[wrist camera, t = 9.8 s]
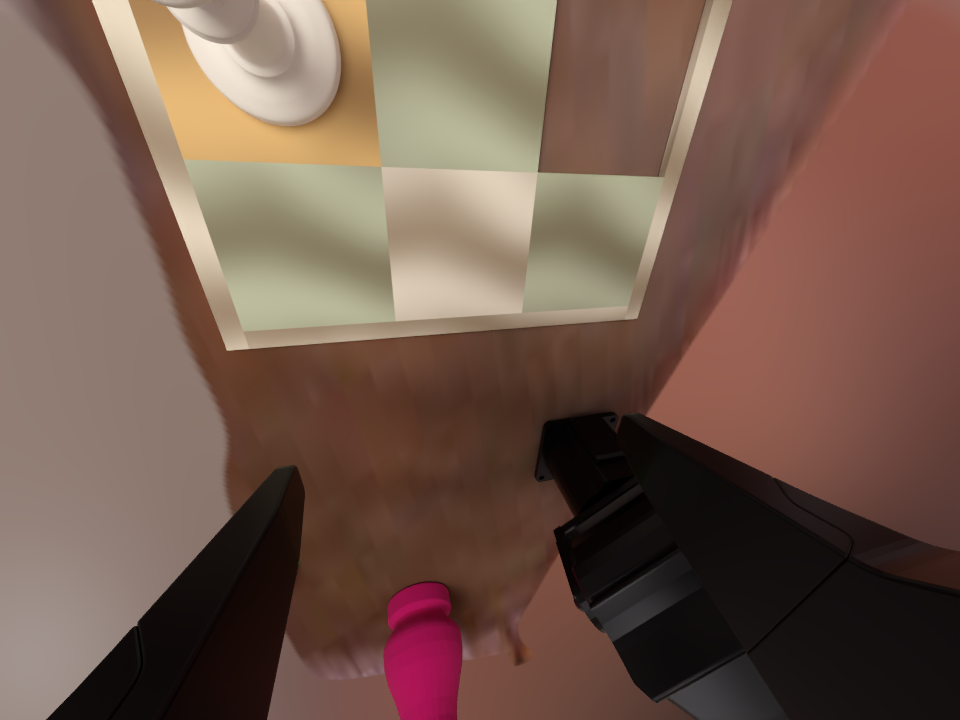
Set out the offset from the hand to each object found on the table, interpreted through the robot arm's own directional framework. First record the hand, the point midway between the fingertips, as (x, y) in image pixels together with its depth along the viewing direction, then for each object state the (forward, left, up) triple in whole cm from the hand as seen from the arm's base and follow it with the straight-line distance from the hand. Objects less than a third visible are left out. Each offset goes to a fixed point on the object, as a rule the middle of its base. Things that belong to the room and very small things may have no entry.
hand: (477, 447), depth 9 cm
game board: (+6, -2, -12) cm, 14 cm away
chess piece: (+10, +5, -12) cm, 16 cm away
